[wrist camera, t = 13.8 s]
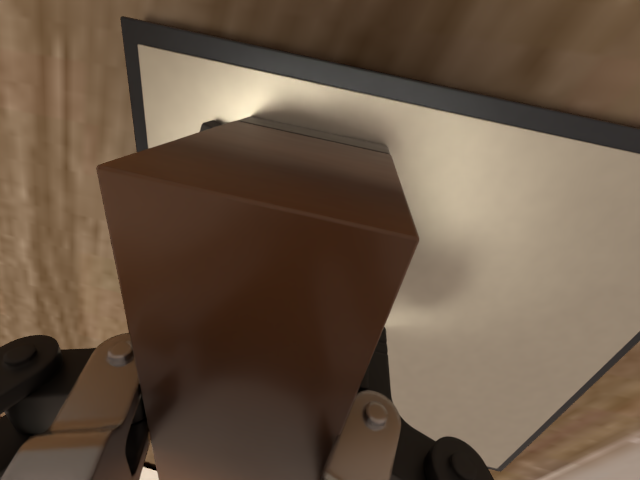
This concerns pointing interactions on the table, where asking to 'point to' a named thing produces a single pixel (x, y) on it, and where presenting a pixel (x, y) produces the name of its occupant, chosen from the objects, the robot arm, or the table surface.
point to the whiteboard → (449, 223)
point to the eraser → (254, 290)
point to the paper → (148, 474)
